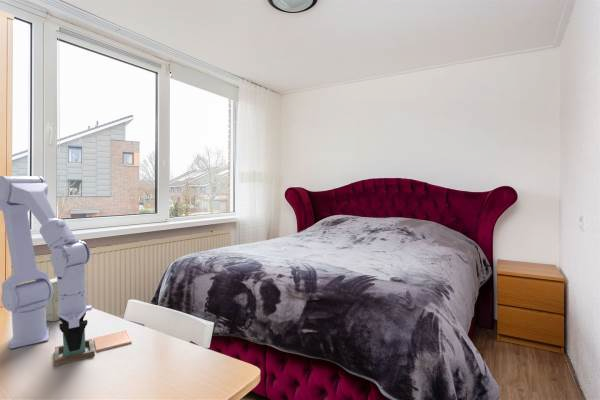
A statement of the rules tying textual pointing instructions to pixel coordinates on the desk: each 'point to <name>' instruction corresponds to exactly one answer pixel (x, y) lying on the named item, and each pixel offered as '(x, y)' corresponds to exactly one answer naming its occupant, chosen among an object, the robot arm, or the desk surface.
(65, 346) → the teal block
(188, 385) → the desk surface
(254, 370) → the desk surface
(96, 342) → the terracotta tile
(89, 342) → the pocket frame
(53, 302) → the skincare box
